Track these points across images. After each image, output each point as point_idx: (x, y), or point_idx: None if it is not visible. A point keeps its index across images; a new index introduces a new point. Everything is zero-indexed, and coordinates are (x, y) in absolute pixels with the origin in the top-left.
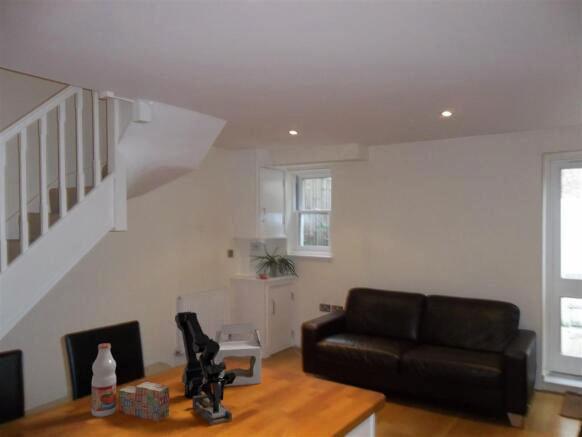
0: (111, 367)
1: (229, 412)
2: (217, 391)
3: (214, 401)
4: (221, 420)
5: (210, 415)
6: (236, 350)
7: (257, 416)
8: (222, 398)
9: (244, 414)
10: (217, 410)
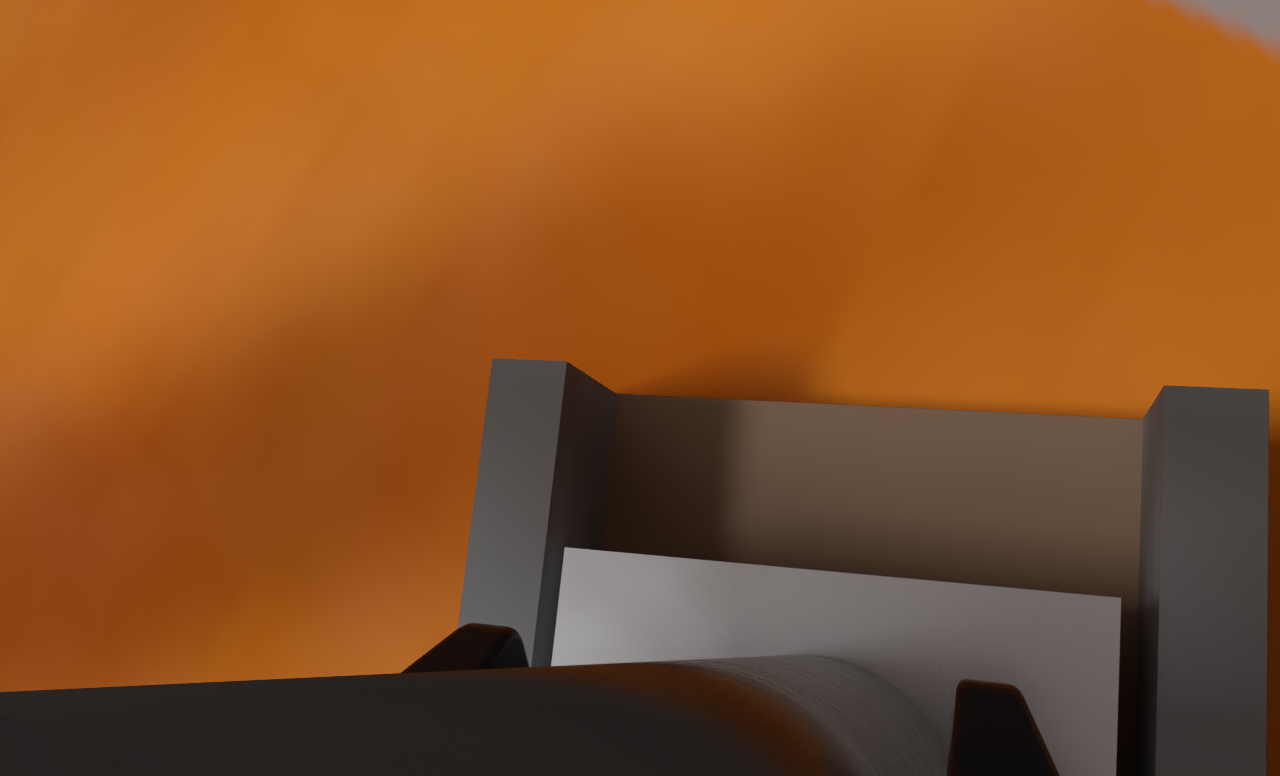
0: None
1: (520, 447)
2: (634, 702)
3: (966, 696)
4: (858, 409)
5: (1192, 596)
6: None
7: (23, 300)
8: (478, 646)
9: (150, 568)
10: (846, 661)
